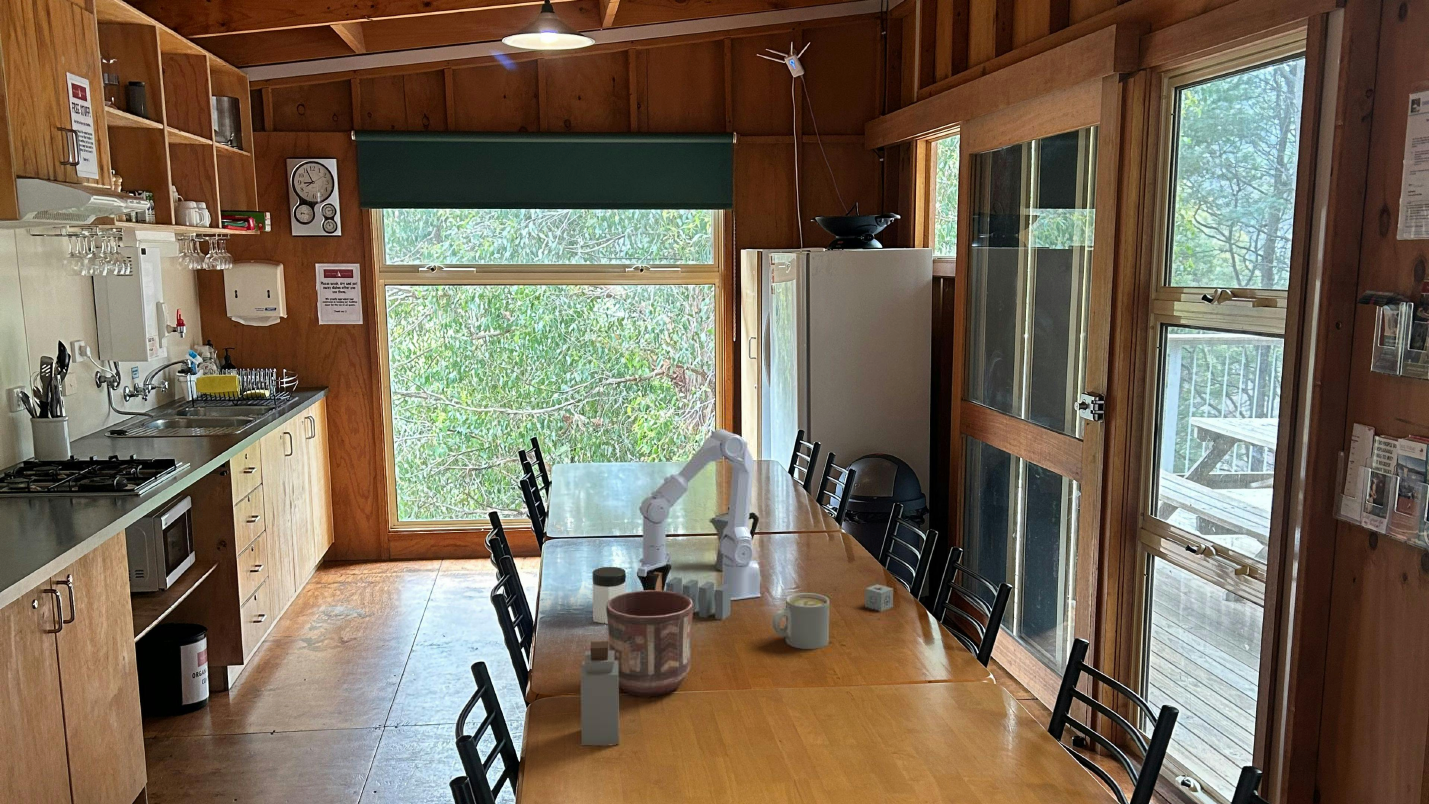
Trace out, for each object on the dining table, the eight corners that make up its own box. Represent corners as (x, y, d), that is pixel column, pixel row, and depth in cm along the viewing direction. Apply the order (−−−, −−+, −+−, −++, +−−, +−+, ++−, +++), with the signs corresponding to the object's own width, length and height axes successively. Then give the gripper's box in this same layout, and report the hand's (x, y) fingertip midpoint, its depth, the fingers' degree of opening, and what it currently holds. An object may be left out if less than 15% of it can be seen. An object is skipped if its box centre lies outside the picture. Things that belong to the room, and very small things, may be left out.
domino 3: (682, 613, 260) (682, 585, 259) (690, 607, 264) (690, 579, 263) (689, 615, 259) (689, 586, 258) (698, 608, 263) (698, 580, 262)
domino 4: (699, 616, 258) (698, 587, 257) (707, 610, 262) (707, 581, 261) (706, 617, 257) (706, 588, 256) (714, 611, 262) (714, 582, 261)
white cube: (865, 607, 265) (865, 588, 264) (876, 602, 269) (877, 584, 268) (880, 612, 262) (881, 593, 261) (892, 607, 265) (893, 588, 264)
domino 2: (666, 611, 261) (666, 582, 260) (674, 605, 266) (674, 577, 265) (673, 612, 261) (673, 583, 260) (681, 606, 265) (681, 578, 264)
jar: (601, 626, 250) (600, 578, 249) (585, 617, 257) (585, 570, 255) (633, 619, 255) (633, 572, 254) (617, 610, 262) (617, 564, 260)
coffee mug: (822, 632, 247) (823, 592, 246) (833, 648, 237) (834, 605, 236) (767, 635, 245) (767, 594, 244) (776, 651, 235) (776, 608, 234)
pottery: (660, 710, 204) (660, 622, 202) (590, 690, 214) (589, 606, 211) (708, 680, 219) (709, 598, 217) (641, 663, 228) (641, 584, 226)
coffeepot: (715, 575, 291) (715, 512, 289) (703, 565, 300) (703, 505, 297) (765, 568, 297) (765, 507, 295) (751, 559, 306) (751, 500, 303)
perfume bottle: (583, 729, 196) (581, 638, 194) (619, 728, 197) (618, 637, 194) (581, 746, 190) (580, 652, 187) (618, 744, 190) (617, 651, 188)
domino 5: (715, 618, 256) (715, 589, 255) (723, 612, 261) (723, 583, 260) (722, 620, 255) (722, 590, 254) (730, 613, 260) (730, 584, 259)
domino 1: (646, 605, 263) (646, 577, 262) (655, 599, 268) (655, 571, 267) (653, 606, 263) (653, 578, 262) (662, 600, 267) (662, 572, 266)
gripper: (653, 535, 271) (653, 585, 273) (626, 549, 258) (627, 602, 260) (677, 538, 269) (677, 588, 270) (652, 552, 255) (652, 605, 257)
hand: (654, 595), depth 265 cm, fingers closed on domino 1, 5 cm apart
